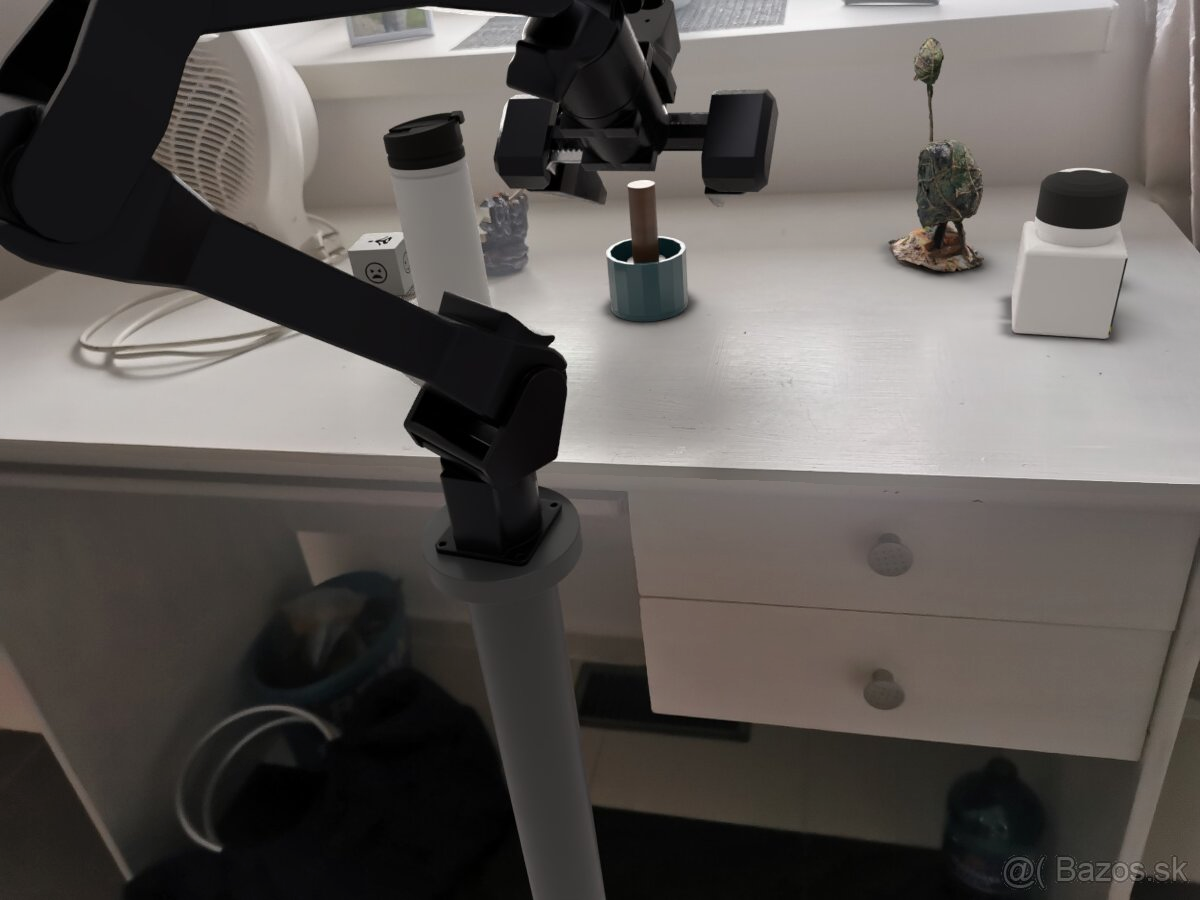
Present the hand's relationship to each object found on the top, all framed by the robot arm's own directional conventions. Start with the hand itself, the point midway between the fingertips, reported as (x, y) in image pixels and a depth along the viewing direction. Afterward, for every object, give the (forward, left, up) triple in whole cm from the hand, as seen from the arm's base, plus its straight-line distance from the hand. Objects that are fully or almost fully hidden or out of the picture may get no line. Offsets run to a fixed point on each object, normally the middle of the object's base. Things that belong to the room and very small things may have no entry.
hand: (661, 199), depth 68 cm
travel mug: (0, +19, -14) cm, 23 cm away
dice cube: (+12, +34, -14) cm, 38 cm away
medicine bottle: (+13, -30, -14) cm, 35 cm away
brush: (+11, +5, -13) cm, 18 cm away
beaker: (+11, +5, -14) cm, 18 cm away
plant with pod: (+25, -20, -14) cm, 35 cm away
